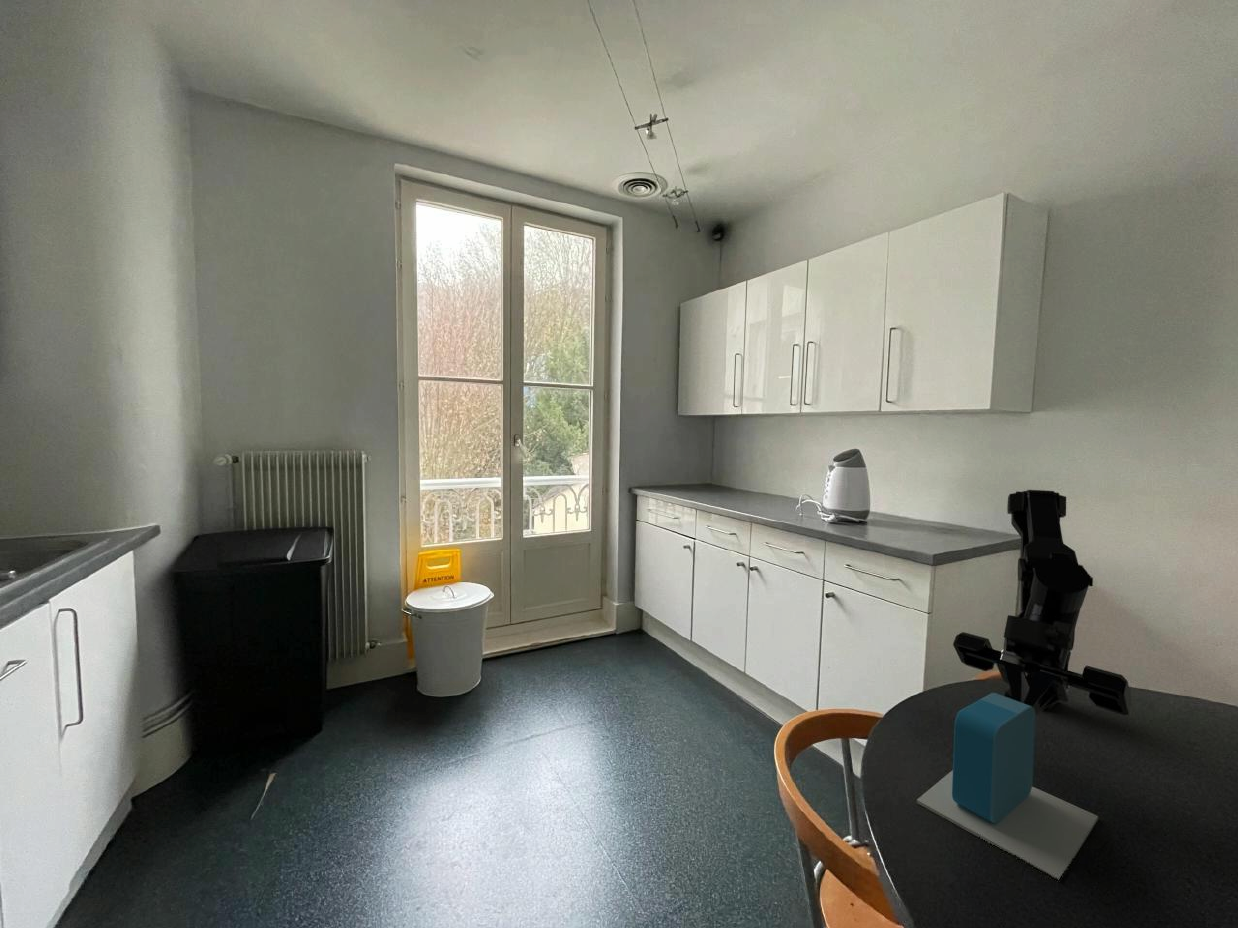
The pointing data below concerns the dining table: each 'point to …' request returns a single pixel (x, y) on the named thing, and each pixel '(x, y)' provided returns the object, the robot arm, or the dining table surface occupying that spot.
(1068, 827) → the mat
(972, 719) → the blue rounded flat block
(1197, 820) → the dining table surface
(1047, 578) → the robot arm
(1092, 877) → the dining table surface
